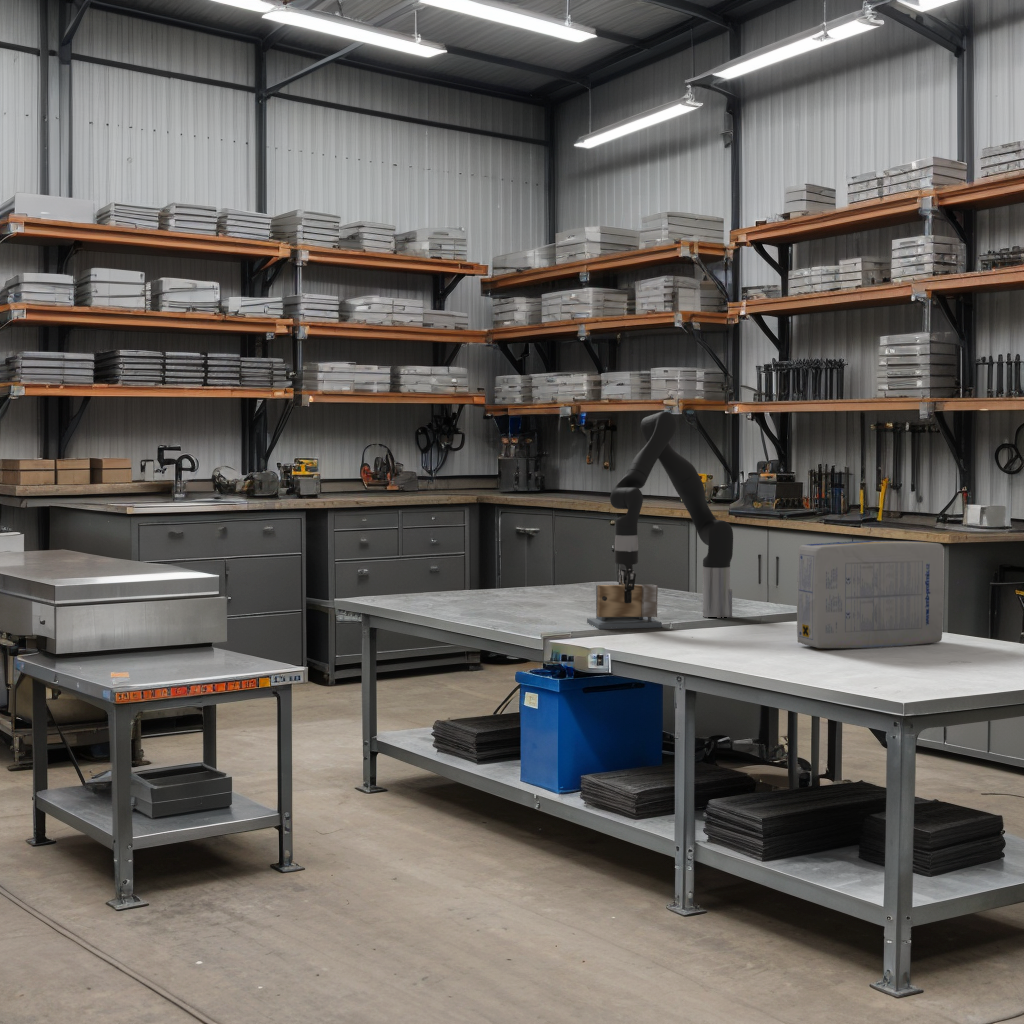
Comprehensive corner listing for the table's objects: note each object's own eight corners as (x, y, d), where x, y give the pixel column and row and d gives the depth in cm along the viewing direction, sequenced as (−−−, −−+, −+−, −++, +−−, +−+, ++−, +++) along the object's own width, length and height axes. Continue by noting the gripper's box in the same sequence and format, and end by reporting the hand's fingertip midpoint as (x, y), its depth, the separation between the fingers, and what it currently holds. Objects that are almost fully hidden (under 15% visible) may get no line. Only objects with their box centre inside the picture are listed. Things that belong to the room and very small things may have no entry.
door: (652, 614, 397) (653, 584, 397) (657, 616, 392) (657, 586, 392) (596, 615, 394) (596, 584, 394) (600, 617, 389) (600, 586, 389)
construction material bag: (920, 638, 364) (921, 538, 363) (945, 644, 353) (946, 541, 352) (794, 646, 351) (795, 542, 349) (816, 652, 340) (816, 545, 338)
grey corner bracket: (648, 621, 407) (648, 583, 406) (661, 627, 392) (661, 588, 391) (587, 623, 403) (587, 585, 402) (598, 629, 388) (598, 590, 387)
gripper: (609, 547, 399) (609, 600, 399) (621, 550, 385) (621, 605, 385) (631, 547, 400) (631, 599, 401) (643, 550, 386) (643, 604, 387)
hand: (626, 602), depth 393 cm, fingers closed on door, 3 cm apart
